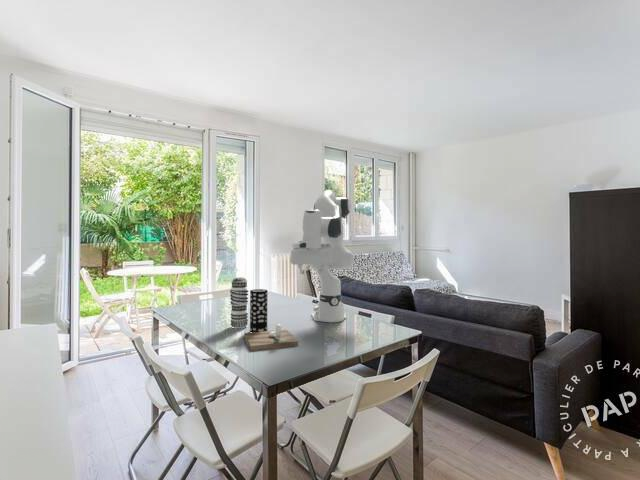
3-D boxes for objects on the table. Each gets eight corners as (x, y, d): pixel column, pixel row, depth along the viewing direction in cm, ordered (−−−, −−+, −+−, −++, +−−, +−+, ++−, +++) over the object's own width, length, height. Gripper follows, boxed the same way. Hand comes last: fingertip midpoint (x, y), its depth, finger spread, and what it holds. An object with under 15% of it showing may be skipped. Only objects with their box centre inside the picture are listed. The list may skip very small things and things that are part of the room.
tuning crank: (268, 334, 157) (268, 321, 157) (277, 333, 159) (277, 320, 159) (274, 341, 148) (274, 326, 148) (284, 339, 150) (284, 325, 150)
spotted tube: (270, 330, 173) (270, 289, 173) (262, 334, 165) (262, 292, 165) (255, 328, 176) (255, 288, 176) (246, 332, 168) (246, 291, 168)
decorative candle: (230, 330, 173) (230, 279, 172) (229, 325, 182) (229, 277, 181) (248, 328, 175) (249, 278, 175) (247, 324, 184) (247, 276, 184)
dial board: (244, 337, 160) (244, 332, 160) (286, 333, 167) (286, 329, 167) (250, 350, 143) (250, 345, 143) (297, 345, 149) (297, 340, 149)
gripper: (328, 243, 171) (328, 272, 171) (289, 244, 162) (289, 273, 162) (334, 244, 165) (334, 273, 165) (294, 244, 156) (293, 275, 156)
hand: (311, 273), depth 164 cm, fingers open, 8 cm apart
